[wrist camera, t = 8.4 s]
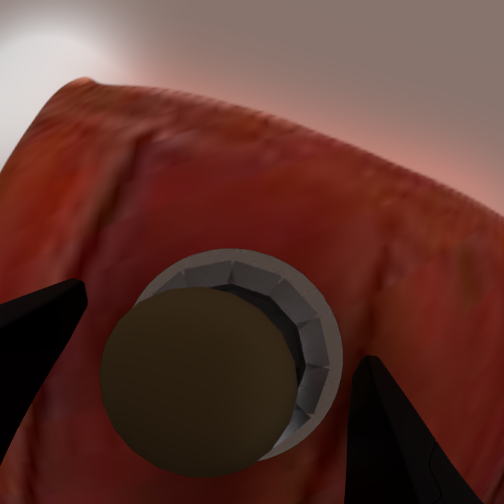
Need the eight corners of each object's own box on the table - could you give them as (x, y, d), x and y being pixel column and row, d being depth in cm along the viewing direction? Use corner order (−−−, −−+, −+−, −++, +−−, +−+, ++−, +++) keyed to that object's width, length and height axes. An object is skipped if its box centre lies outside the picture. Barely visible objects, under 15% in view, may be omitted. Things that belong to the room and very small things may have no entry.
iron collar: (381, 362, 16) (399, 364, 14) (221, 493, 14) (216, 512, 12) (241, 211, 19) (238, 192, 17) (90, 339, 17) (69, 337, 15)
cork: (236, 432, 15) (208, 546, 4) (155, 365, 16) (29, 383, 6) (304, 353, 16) (382, 370, 6) (221, 287, 17) (170, 203, 7)
